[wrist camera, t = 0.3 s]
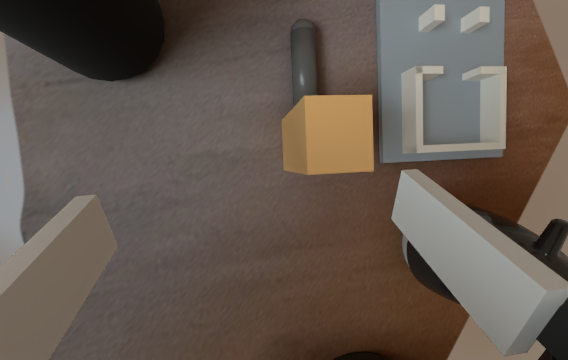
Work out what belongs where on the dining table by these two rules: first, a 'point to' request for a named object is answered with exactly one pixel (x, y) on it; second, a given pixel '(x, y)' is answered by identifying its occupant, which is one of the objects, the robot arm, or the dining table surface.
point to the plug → (323, 118)
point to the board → (441, 79)
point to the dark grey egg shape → (543, 244)
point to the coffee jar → (89, 33)
